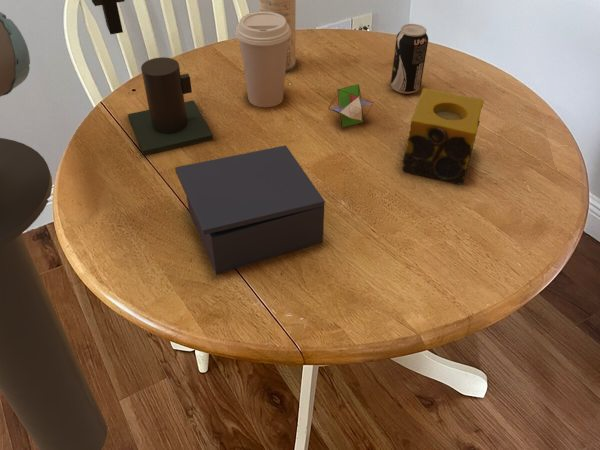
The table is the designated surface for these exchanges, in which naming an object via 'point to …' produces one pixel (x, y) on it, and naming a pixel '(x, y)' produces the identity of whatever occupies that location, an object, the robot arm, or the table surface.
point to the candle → (442, 135)
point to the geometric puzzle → (350, 105)
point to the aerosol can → (285, 5)
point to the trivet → (160, 142)
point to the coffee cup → (264, 56)
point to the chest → (261, 239)
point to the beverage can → (409, 58)
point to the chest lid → (247, 189)
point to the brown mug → (166, 94)
